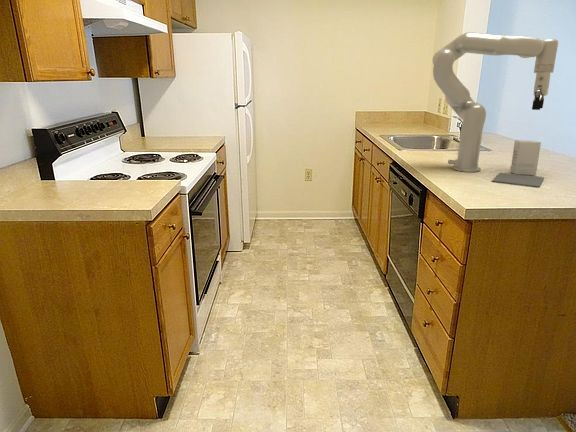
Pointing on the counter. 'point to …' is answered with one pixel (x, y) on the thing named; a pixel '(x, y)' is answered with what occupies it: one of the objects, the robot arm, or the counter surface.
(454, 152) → the counter surface
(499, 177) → the mat
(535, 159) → the supplement box
